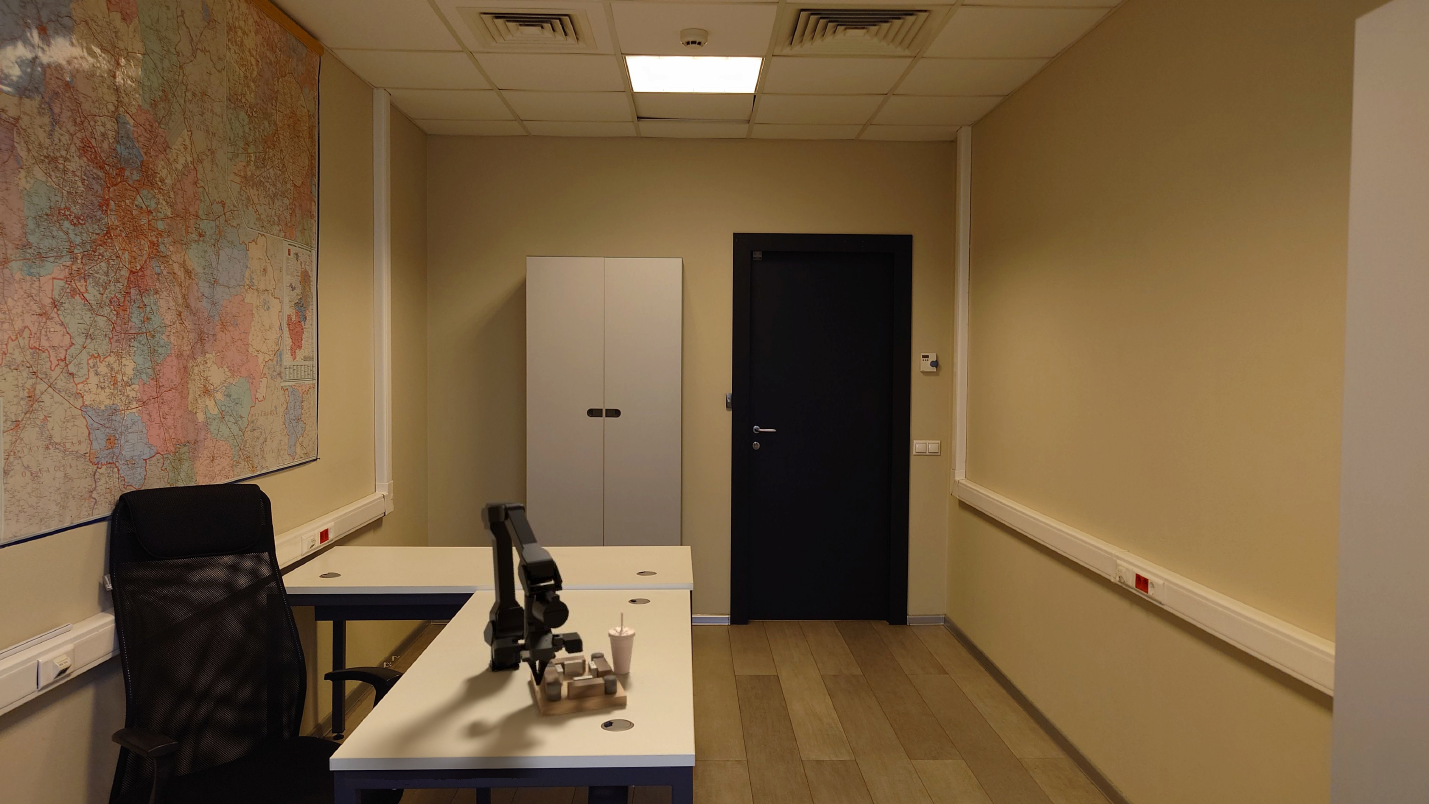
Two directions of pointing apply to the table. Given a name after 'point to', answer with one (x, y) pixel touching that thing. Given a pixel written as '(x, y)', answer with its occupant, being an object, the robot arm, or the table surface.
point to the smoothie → (621, 647)
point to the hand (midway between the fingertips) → (537, 685)
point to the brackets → (576, 670)
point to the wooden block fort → (582, 689)
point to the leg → (552, 683)
